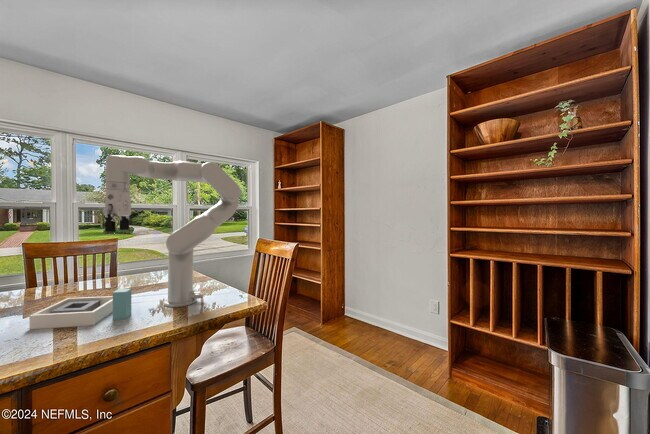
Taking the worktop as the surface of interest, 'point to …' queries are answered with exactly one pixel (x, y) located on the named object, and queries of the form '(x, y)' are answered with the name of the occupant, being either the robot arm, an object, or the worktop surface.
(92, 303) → the walled box
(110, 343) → the worktop surface
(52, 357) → the worktop surface
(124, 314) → the peg
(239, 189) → the robot arm
